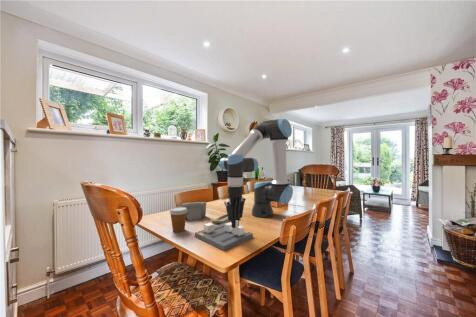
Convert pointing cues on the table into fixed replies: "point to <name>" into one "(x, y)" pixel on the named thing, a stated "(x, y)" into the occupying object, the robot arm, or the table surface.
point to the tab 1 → (208, 227)
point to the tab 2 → (228, 227)
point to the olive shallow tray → (221, 220)
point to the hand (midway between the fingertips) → (235, 233)
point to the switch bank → (222, 237)
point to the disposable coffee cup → (178, 218)
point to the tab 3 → (240, 230)
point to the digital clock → (195, 210)
